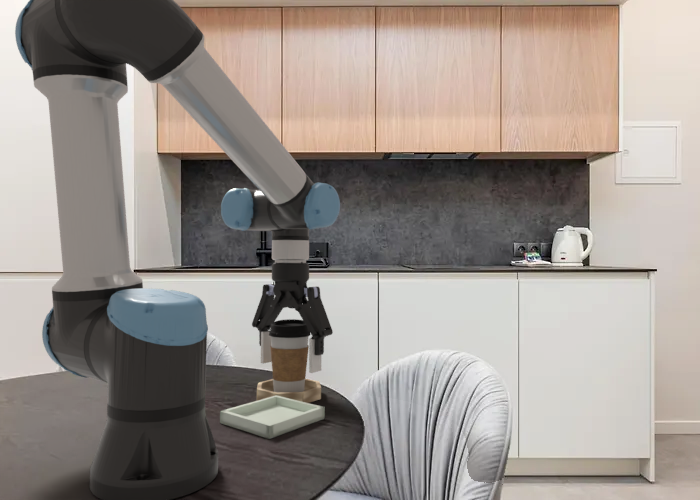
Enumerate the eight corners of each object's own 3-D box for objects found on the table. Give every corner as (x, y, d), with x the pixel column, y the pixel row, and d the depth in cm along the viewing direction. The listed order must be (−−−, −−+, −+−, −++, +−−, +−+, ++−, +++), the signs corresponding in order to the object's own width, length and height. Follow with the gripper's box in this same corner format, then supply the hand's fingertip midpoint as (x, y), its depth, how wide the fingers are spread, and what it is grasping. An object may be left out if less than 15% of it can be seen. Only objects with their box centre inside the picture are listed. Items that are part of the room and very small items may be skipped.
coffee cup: (313, 391, 107) (313, 319, 108) (305, 402, 99) (306, 324, 99) (273, 390, 108) (274, 318, 109) (262, 401, 100) (264, 323, 100)
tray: (269, 439, 79) (269, 425, 79) (219, 423, 86) (220, 411, 86) (324, 418, 89) (324, 407, 89) (276, 405, 97) (276, 395, 97)
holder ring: (289, 409, 95) (289, 397, 95) (243, 397, 103) (244, 386, 103) (332, 395, 105) (333, 384, 105) (288, 385, 113) (288, 375, 113)
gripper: (350, 262, 99) (350, 372, 99) (262, 260, 115) (261, 356, 115) (325, 262, 94) (324, 379, 93) (235, 261, 109) (235, 361, 109)
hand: (290, 366), depth 104 cm, fingers open, 13 cm apart
